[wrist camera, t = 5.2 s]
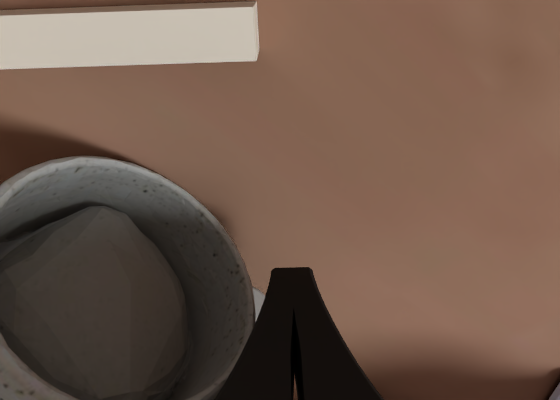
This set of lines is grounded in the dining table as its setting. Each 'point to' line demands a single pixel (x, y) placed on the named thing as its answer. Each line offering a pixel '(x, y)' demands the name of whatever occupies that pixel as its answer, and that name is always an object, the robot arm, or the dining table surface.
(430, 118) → the dining table surface
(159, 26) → the bay
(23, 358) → the ceramic mug
